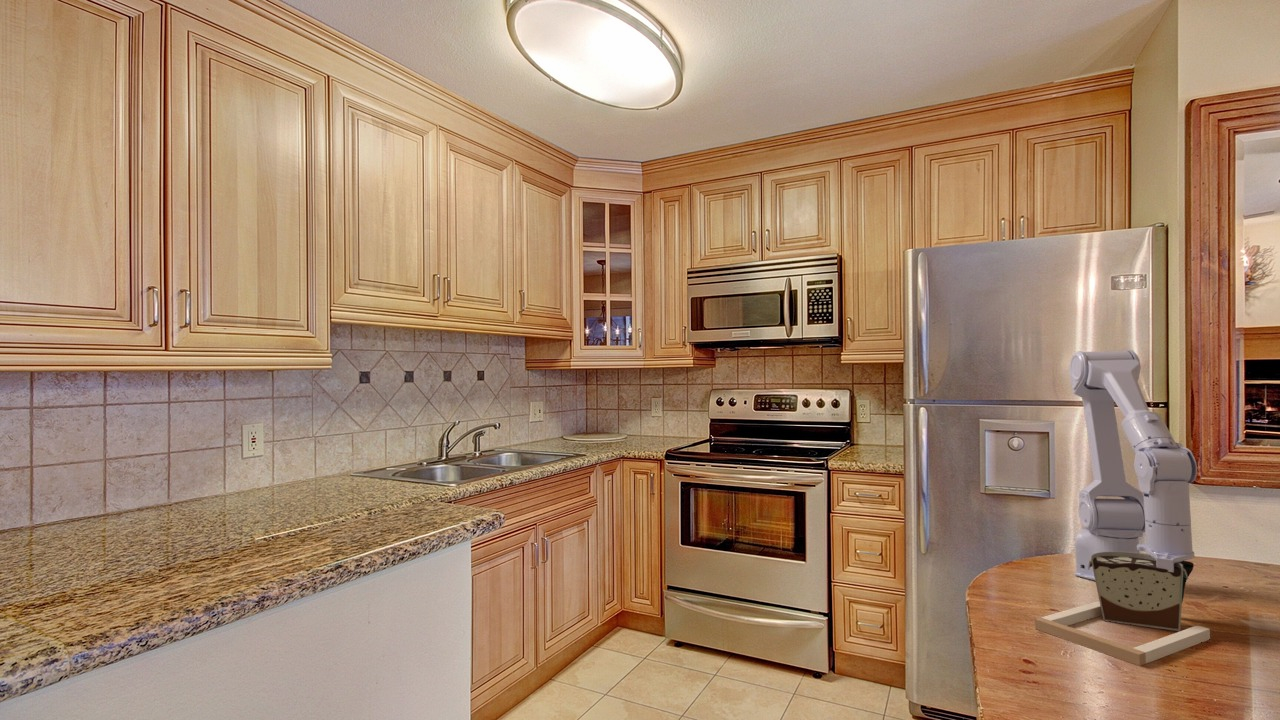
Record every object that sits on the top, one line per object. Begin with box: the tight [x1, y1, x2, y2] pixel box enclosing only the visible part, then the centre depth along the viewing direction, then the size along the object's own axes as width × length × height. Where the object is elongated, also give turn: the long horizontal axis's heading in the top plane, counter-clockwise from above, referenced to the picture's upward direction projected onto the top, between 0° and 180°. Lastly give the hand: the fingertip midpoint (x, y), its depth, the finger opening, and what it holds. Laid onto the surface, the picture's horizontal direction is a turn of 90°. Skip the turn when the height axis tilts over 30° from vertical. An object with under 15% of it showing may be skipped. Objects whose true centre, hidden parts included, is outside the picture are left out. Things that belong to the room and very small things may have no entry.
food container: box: [1088, 552, 1189, 632], centre depth 98 cm, size 12×6×10 cm, turn 58°
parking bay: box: [1034, 600, 1211, 667], centre depth 92 cm, size 14×18×2 cm
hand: (1172, 606), depth 98 cm, fingers closed
